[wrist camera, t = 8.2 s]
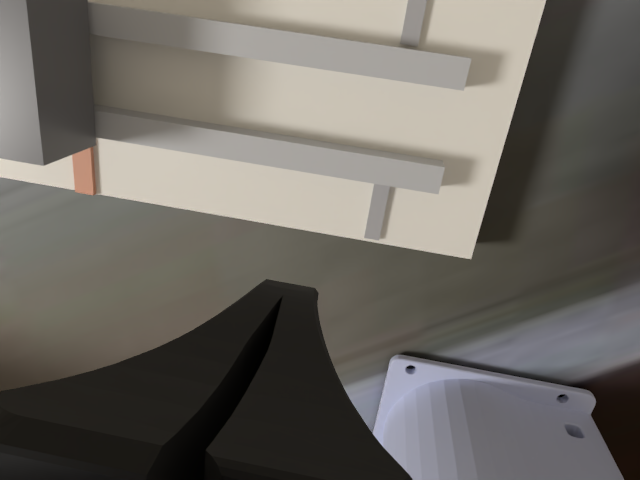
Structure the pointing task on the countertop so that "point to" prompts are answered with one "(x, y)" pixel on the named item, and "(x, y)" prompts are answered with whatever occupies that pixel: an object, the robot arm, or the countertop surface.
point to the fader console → (305, 112)
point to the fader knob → (45, 80)
